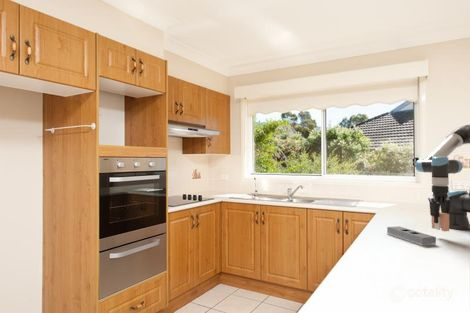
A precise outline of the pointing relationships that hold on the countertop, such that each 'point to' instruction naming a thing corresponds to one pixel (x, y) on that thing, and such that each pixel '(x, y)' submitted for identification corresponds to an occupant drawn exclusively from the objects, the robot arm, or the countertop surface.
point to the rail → (411, 236)
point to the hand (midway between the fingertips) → (440, 228)
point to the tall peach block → (442, 221)
